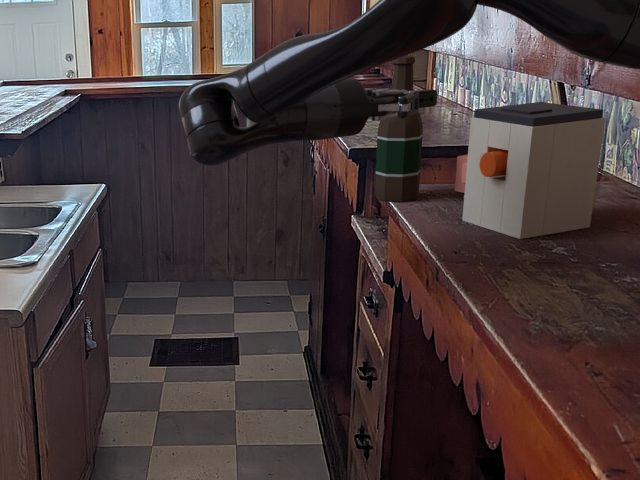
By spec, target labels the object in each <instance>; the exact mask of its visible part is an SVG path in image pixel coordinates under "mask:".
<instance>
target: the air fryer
mask: <svg viewBox="0 0 640 480" xmlns="http://www.w3.org/2000/svg"><path fill="white" fill-rule="evenodd" d="M603 115H604V109H601V108H595V107H586V106H578V105H570V104H561V103H555V102H554V103H552V102H545V101H536V102H528V103H517V104H512V105H501V106H493V107H483V108H475V109H474V112H473V117H470V124H469V125H470V126H469V137H468V148H467V149H468V150H467V155H468V159H467V171H466V183H465V193H464V195H463V196H464V198H463V207H462V218H461V219H462V222H465V223H469V224H471V225H475V226H476V227H477V226H478V227H481V228H483V229H487V230H489V231H492V232H496V233H499V234H503V235H506V236H508V237H512V238H515V239H518V240H523V239H529V238H534V237H541V236H547V235H552V234H558V233H565V232H570V231H577V230H581V229H589V228H591V221H592V214H593V208H594V202H595V194H596V187H597V180H598V174H599V166H600V160H601V152H602V147H603V146H602V145H603V138H604V131H605V125H606V118H605V117H603ZM502 150H508V160H507V169H506V175H501V176H494V177H485V176H484V175H483V174H482V173H481V171H480V159H481V157H482V155H483V154H485V153H487V152H495V151H502Z"/></svg>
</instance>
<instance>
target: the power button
mask: <svg viewBox="0 0 640 480" xmlns="http://www.w3.org/2000/svg"><path fill="white" fill-rule="evenodd" d="M507 160H508V150H502V151H495V152H487V153H485V154H483V155H482V157H481V159H480V171H481V173H482V174H483V175H484V176H485V177H494V176H501V175H506V169H507Z"/></svg>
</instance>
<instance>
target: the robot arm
mask: <svg viewBox="0 0 640 480" xmlns="http://www.w3.org/2000/svg"><path fill="white" fill-rule="evenodd" d="M478 6H483V7H487V8H492V9H495V10H498V11H502V12H504V13H507V14H510V15H511V16H513V17H515V18H517V19H519V20H521V21H523V22H524V23H526V24H527V25H529V26H530V27H532V28H533V29H534V30H535V31H536V32H538V33H540V34H541V35H543V36H544V37H545V38H547V39H548V40H550V41H551V42H553V43H554V44H556V45H558V46H559V47H561V48H562V49H565V50H566V51H568V52H570V53H572V54H574V55H575V56H578V57H579V58H582V59H586V60H588V61H591V62H597V63H602V64H606V65H612V66H615V67H620V68H624V69H625V68H626V69H631V70H637V71H640V0H378V1H377V2H375V4H373V5H372V6H370V8H369V9H367V10H366V11H365V12H364V13H362V14H361V15H359V16H358V17H356V18H355V19H353V20H352V21H349V22H348V23H347V24H345V25H343V26H339V27H337V28H334V29H331V30H326V31H321V32H314V33H307V34H303V35H298V36H295V37H292V38H289V39H287V40H284V41H283V42H281V43H279V44H278V45H276V46H274V47H273V48H271V49H270V50H268V51H266V52H265V53H263V54H262V55H260V56H259V57H258V58H256V59H254V60H252V61H251V62H250V63H249V64H247V65H246V66H244V67H241V68H239V69H236V70H233V71H231V72H228V73H225V74H222V75H219V76H216V77H211V78H208V79H203V80H200V81H197V82H194V83H192V84H191V85H189V86H187V88H185V90H184V91H183V93H182V94H181V96H180V98H179V101H178V112H179V115H180V119H181V123H182V128H183V130H184V134H185V138H186V142H187V146H188V147H187V148H188V151H189V153H190V155H191V158H192V159H193V160H194V161H195V162H196V163H198V164H200V165H204V166H207V167H208V166H209V167H217V166H220V165H222V164H225V163H228V162H230V161H232V160H234V159H236V158H238V157H240V156H242V155H245V154H246V153H249V152H251V151H255V150H257V149H260V148H264V147H266V146H269V145H274V144H282V143H290V142H302V141H303V142H312V141H313V142H314V141H321V140H329V139H336V138H344V137H345V138H346V137H353V136H356V135H358V134H360V133H361V132H362V131H363V129H364V128H365V126H366V123H367V122H368V120H370V119H371V120H370V121H371V122H380V121H381V120H385V118H389V117H397V116H398V117H400V118H405V117H409V116H411V115H413V114H415V113H417V112H419V109H423V108H425V109H426V108H431V107H436V106H437V103H438V91H437V90H436V89H430V88H427V89H426V88H425V89H417V90H413V91H409V92H408V91H405V90H396V89H395V90H394V89H392V88H386V87H385V88H377V89H375V88H371V87H368V88H365V86H364V84H363V83H362V82H361V81H360V80H358V79H357V78H355V77H354V76H357V75H360V74H362V73H365V72H367V71H370V70H372V69H375V68H377V67H380V66H383V65H385V64H387V63H390V62H393V60H395V59H398V58H400V57H403V56H406V55H411V54H414V53H416V52H419V51H421V50H424V49H427V48H429V47H431V46H434V45H436V44H439V43H440V42H443V41H445V40H446V39H448V38H450V37H452V36H454V35H456V34H457V33H458V32H460V31H461V30H463V28H465V27H466V26H467V25H468V24H469V22H470V21H471V20H472V19H473V17H474V15H475V13H476V11H477V8H478ZM235 104H236V105H237V107H238V109H239V111H240V112H241V113H242V114H243V115H244V116H245V118H246V126H244V127H243V126H241V124H240V123H241V122H240V120H239V116H238V112H237V108H236V105H235Z"/></svg>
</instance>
